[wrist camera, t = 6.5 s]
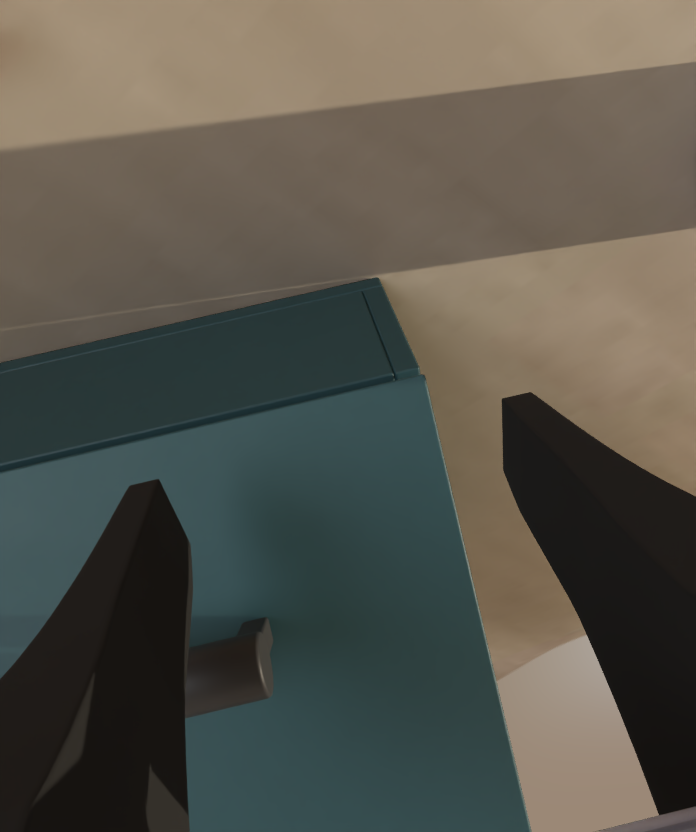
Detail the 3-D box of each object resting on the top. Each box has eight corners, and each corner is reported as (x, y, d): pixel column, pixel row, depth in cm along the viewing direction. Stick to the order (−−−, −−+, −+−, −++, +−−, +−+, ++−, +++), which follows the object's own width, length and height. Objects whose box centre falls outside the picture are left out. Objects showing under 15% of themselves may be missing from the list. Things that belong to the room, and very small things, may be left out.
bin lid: (549, 923, 17) (610, 1063, 13) (-21, 1067, 17) (-124, 1253, 13) (421, 375, 17) (446, 361, 14) (-147, 506, 17) (-286, 530, 13)
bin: (419, 549, 31) (453, 656, 26) (100, 625, 30) (80, 746, 26) (378, 276, 22) (419, 367, 17) (-74, 378, 21) (-150, 498, 17)
